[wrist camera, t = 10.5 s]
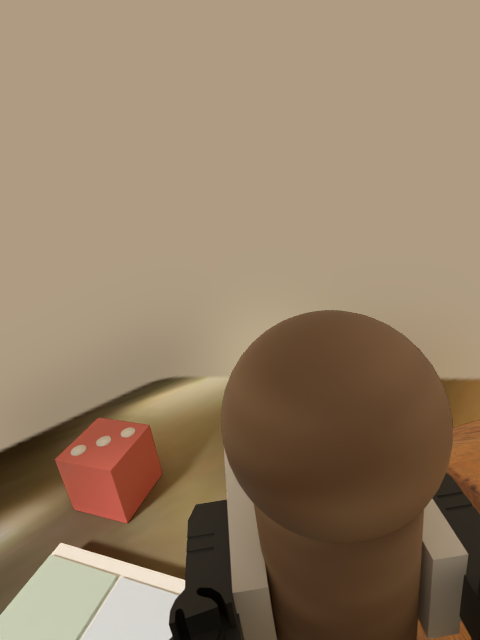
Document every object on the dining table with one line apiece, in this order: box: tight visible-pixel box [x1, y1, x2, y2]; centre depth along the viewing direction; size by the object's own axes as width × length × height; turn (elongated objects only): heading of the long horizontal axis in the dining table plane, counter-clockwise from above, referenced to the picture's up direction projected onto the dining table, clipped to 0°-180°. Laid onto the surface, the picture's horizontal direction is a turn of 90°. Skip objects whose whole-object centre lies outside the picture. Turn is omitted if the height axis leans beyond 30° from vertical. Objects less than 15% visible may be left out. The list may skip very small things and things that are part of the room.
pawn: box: [221, 310, 453, 640], centre depth 10 cm, size 5×5×15 cm
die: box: [55, 418, 162, 524], centre depth 32 cm, size 5×5×5 cm
